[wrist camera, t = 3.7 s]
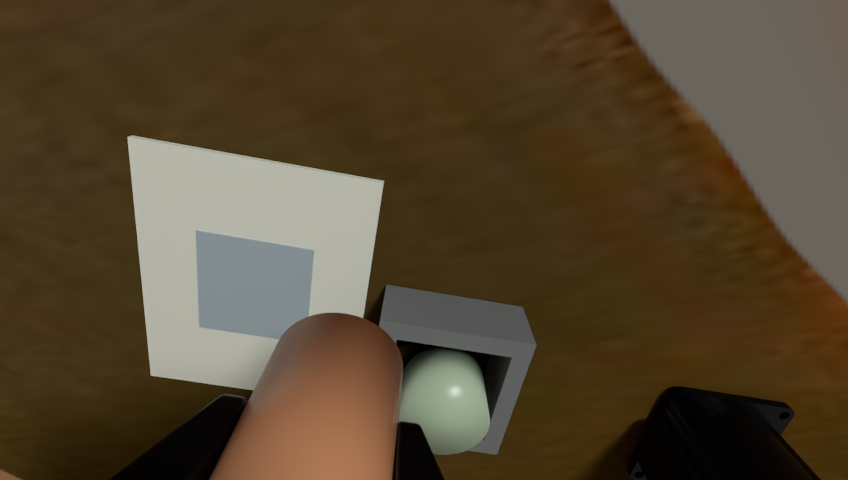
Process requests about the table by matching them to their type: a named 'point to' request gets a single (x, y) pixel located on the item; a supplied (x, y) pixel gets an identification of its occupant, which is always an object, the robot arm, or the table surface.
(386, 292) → the button housing
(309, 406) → the marker
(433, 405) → the button
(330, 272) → the paper
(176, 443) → the robot arm
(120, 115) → the table surface
